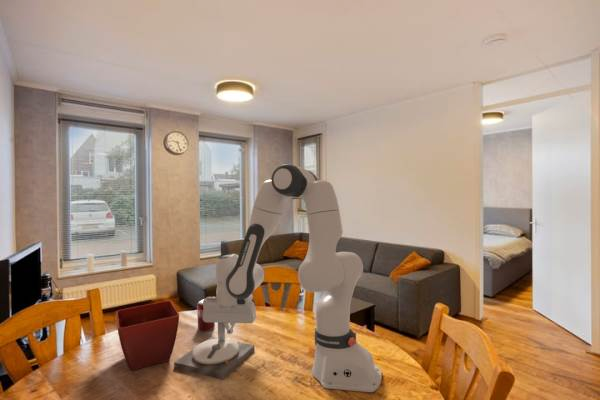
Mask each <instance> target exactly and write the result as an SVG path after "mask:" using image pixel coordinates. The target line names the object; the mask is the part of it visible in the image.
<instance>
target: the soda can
mask: <svg viewBox="0 0 600 400" xmlns="http://www.w3.org/2000/svg"><path fill="white" fill-rule="evenodd" d="M204 299H205V298H204ZM204 299H201V300H199V301H198V302H197V305H196V306H197V307H196V309H197V311H196V312H197V330H198V331H199V332H209V331H212V330H214V328H215V326H216V325H215V324H216V322H204V321H203V308H204V307H203V300H204ZM205 300H206V299H205Z"/></svg>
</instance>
